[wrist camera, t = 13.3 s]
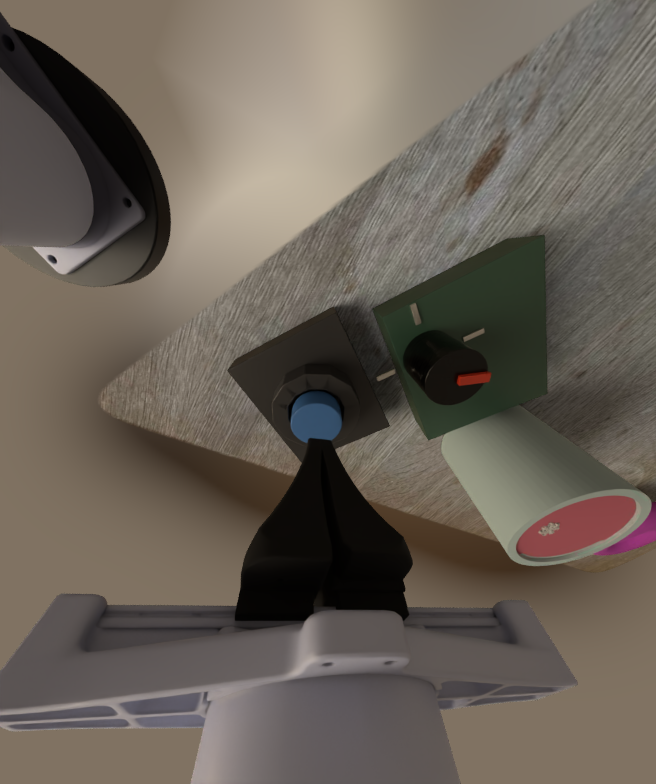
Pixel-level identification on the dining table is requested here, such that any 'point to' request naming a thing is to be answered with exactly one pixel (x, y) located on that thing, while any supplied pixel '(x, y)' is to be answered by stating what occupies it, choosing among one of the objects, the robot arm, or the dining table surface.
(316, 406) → the plunger
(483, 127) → the dining table surface
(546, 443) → the mug
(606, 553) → the donut
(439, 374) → the knob
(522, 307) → the panel
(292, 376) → the button block
